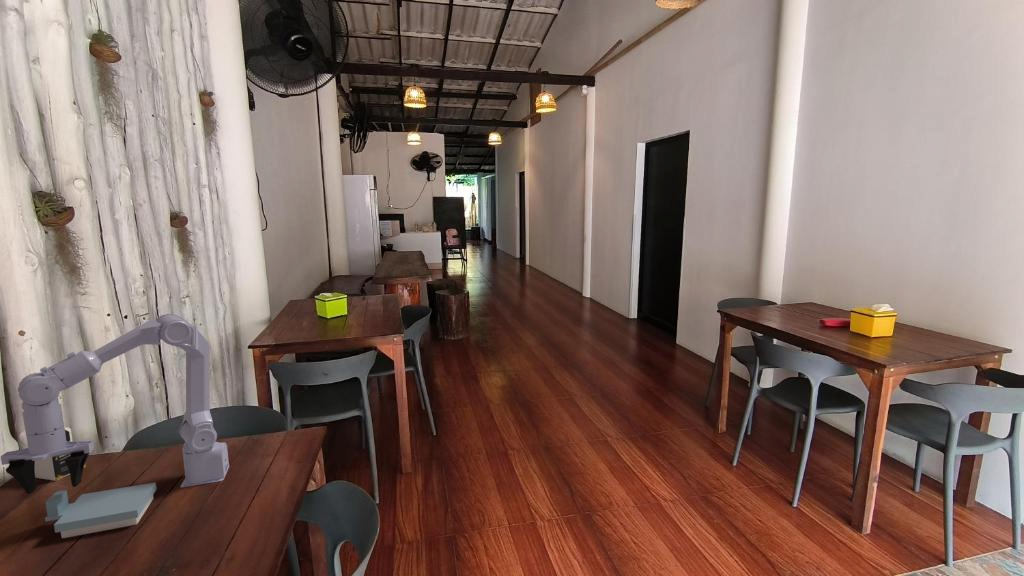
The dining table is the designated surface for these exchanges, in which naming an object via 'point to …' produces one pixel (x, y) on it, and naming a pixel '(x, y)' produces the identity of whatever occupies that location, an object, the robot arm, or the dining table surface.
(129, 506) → the lid
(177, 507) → the dining table surface
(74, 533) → the tub
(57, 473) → the medicine bottle
